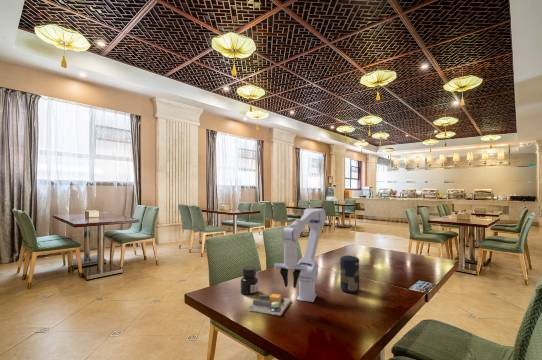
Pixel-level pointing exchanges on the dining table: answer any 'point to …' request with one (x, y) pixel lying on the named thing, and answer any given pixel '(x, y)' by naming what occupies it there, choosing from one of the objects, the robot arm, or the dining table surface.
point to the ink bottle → (249, 281)
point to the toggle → (275, 298)
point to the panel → (269, 305)
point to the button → (275, 304)
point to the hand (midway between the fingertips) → (290, 286)
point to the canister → (349, 273)
